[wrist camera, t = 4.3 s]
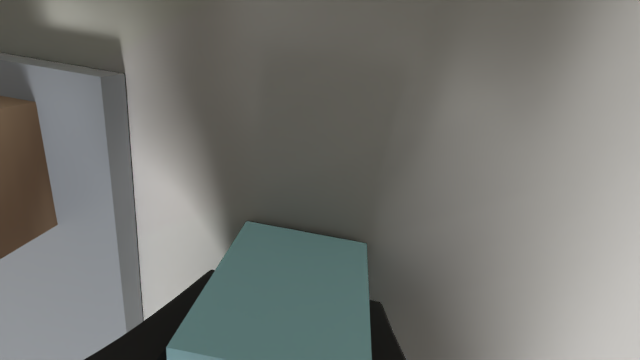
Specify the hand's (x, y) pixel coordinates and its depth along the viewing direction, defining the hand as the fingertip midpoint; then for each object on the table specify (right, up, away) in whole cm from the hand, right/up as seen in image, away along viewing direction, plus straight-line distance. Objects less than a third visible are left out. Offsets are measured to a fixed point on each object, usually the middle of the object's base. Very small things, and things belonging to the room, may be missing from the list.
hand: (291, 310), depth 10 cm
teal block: (0, +1, +1) cm, 1 cm away
